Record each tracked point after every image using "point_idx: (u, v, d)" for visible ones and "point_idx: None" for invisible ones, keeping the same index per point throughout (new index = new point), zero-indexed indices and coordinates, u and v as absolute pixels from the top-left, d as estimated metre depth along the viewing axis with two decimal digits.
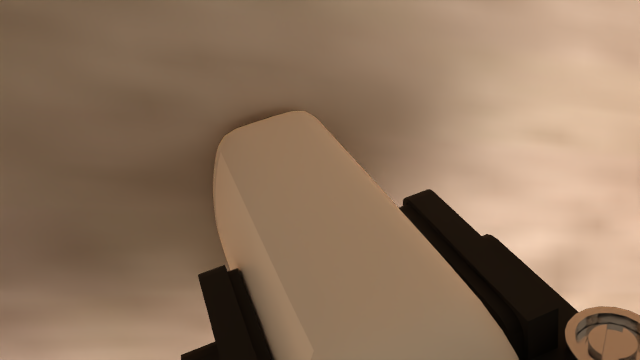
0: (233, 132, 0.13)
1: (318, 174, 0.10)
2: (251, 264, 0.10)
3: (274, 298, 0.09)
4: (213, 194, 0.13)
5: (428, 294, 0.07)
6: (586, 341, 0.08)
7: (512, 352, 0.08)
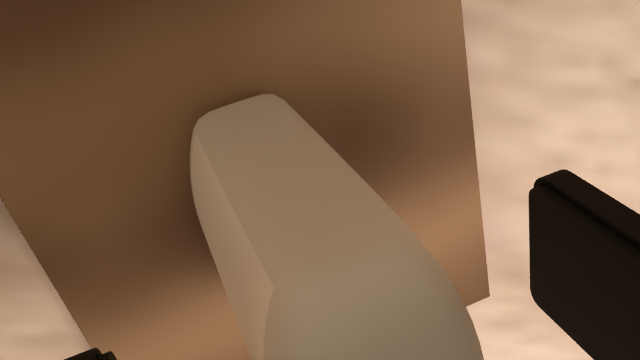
0: (207, 114, 0.13)
1: (283, 145, 0.11)
2: (223, 228, 0.11)
3: (242, 251, 0.10)
4: (190, 174, 0.14)
5: (373, 234, 0.08)
6: None
7: (450, 285, 0.09)
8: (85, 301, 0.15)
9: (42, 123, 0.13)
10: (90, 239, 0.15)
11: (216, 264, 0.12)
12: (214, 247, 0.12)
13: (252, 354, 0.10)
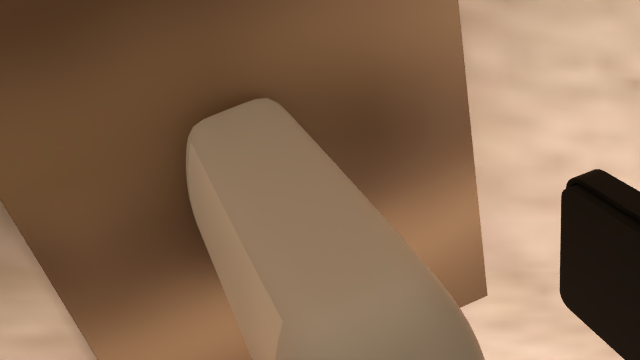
0: (201, 123, 0.13)
1: (282, 160, 0.11)
2: (225, 247, 0.11)
3: (247, 278, 0.10)
4: (187, 182, 0.14)
5: (380, 266, 0.08)
6: None
7: (457, 311, 0.09)
8: (84, 301, 0.15)
9: (42, 124, 0.13)
10: (89, 240, 0.15)
11: (218, 276, 0.13)
12: (216, 261, 0.12)
13: None
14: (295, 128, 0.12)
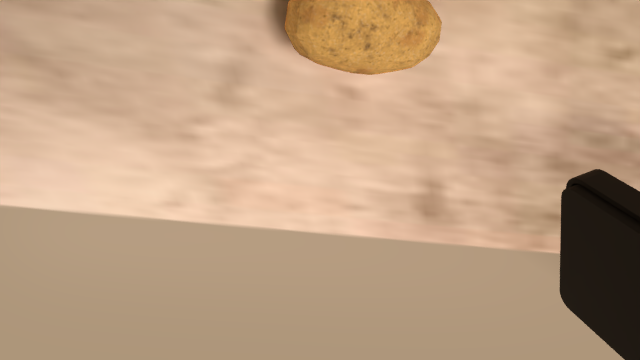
0: None
1: None
2: None
3: None
4: None
5: None
6: None
7: None
8: None
9: None
10: None
11: None
12: None
13: None
14: None
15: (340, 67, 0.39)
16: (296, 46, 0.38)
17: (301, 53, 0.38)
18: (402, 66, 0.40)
